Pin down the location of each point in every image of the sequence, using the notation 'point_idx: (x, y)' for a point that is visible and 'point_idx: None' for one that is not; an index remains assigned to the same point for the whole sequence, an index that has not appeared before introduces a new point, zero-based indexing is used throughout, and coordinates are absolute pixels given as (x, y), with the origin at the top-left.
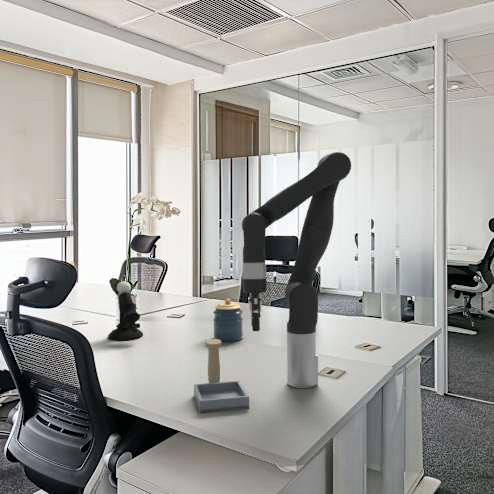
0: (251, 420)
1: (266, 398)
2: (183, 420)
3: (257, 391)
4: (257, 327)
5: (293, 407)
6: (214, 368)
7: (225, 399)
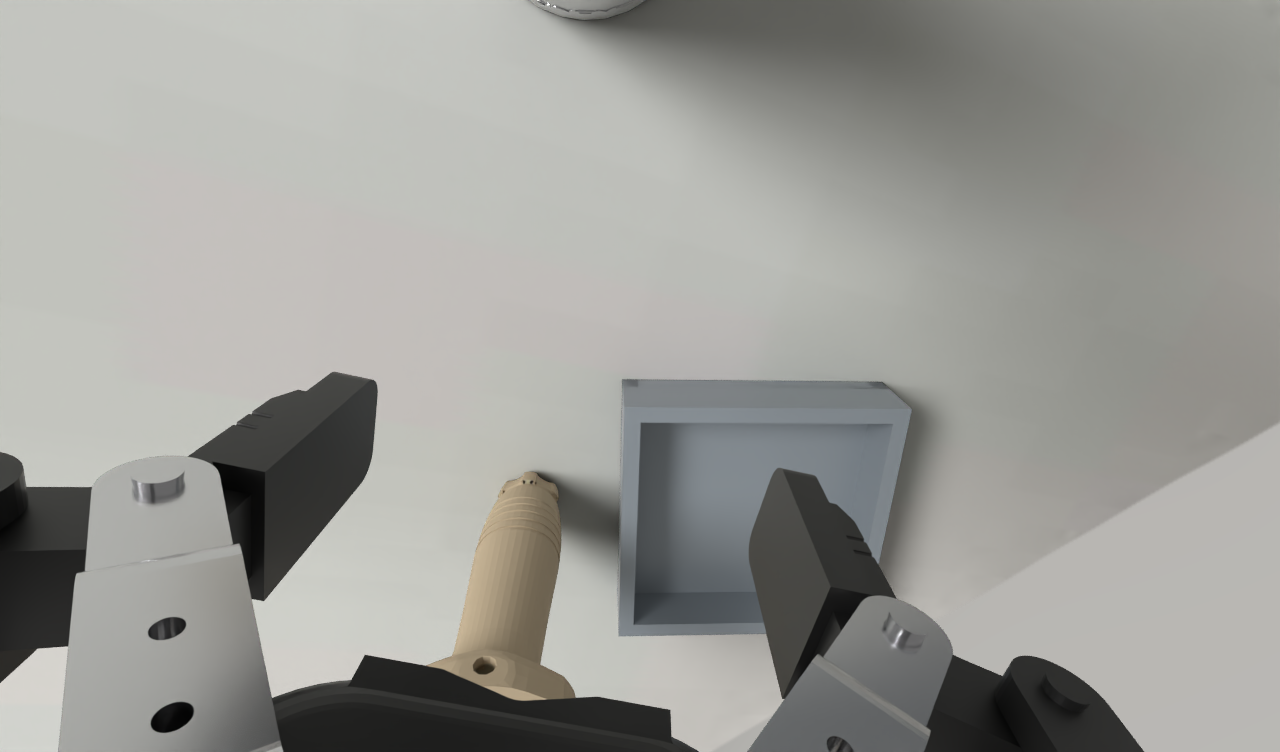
0: (1017, 403)
1: (779, 253)
2: None
3: (649, 274)
4: (849, 538)
5: (974, 136)
6: (555, 579)
7: (884, 523)
